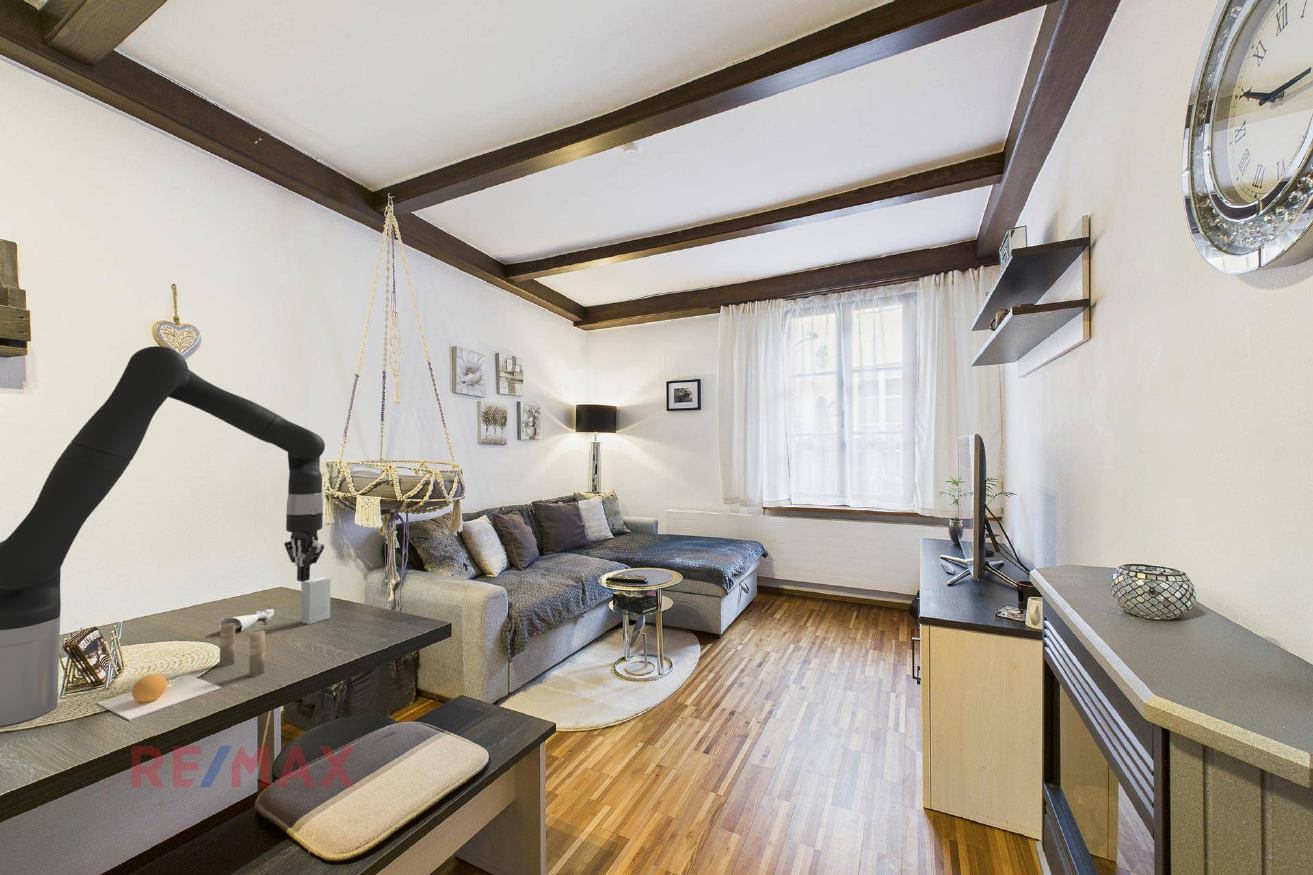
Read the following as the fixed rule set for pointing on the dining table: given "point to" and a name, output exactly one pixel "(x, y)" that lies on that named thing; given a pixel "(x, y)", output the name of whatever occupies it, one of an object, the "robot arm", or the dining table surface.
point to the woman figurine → (247, 619)
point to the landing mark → (173, 695)
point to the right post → (257, 653)
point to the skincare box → (315, 600)
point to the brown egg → (149, 688)
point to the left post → (227, 644)
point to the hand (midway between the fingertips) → (303, 580)
